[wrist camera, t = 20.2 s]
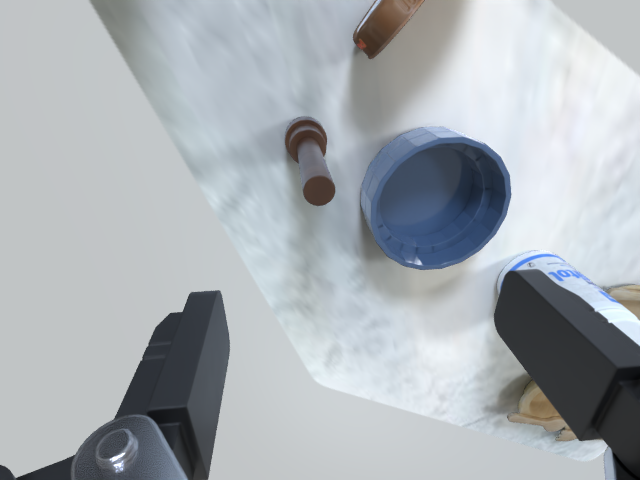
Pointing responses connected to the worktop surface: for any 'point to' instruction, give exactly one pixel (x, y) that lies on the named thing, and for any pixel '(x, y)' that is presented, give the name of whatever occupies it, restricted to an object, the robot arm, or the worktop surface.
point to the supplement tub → (577, 288)
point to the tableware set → (536, 404)
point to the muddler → (310, 159)
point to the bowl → (435, 197)
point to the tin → (383, 24)
